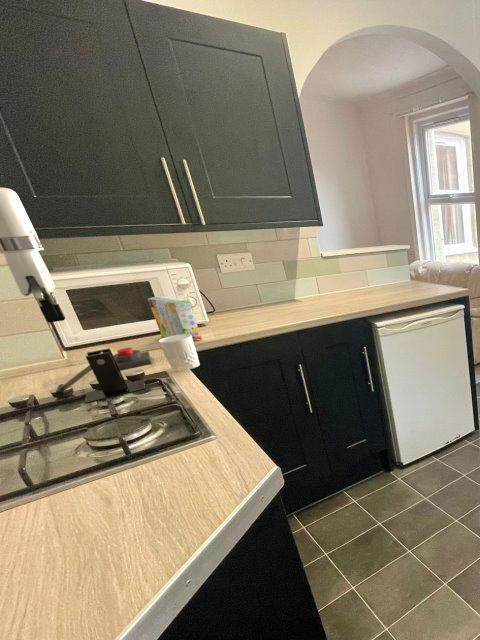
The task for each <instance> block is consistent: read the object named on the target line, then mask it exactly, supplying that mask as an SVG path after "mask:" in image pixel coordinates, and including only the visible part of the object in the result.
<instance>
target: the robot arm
mask: <svg viewBox="0 0 480 640" xmlns="http://www.w3.org/2000/svg"><path fill="white" fill-rule="evenodd" d="M44 250H45V249H44V247H43V244H42V243H41V240H40V238H39V236H38V234H37V232H36V230H35V228H34V226H33V223H32V222H31V220H30V218H29V215H28V213H27V212H26V209H25V207H24V205H23V203H22V201H21V199H20V197H19V195H18V193H16V191H14V190H13V189H11V188H8V187H0V254H1V255H2V254H3V255H4V259H5V261H6V263H7V266H8V268H9V270H10V272H11V274H12V277H13V279H14V281H15V283H16V285H17V288H18V290H19V292H20V294H21V295H22V296H24V297H29V296H30V295H32V296H33V297H34V299H35V301H36V302H37V304H38V306H39V309H40V311H41V313H42V315H43V317H44V319H45V320H46V323H49V324H50V323H56V322H62V321H65V320H66V316H65V314H64V312H63V309H62V308H61V306H60V304H59V303H58V301H57V299H56V296H55V294H54V292H53V291H54V290H56V285H55V283H54V280H53V278H52V275H51V273H50V271H49V269H48V267H47V265H46V263H45V261H44V259H43V258H42V256H41V253H40V252H39V251H44Z"/></svg>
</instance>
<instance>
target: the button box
mask: <svg viewBox="0 0 480 640" xmlns="http://www.w3.org/2000/svg"><path fill="white" fill-rule="evenodd" d="M133 352H134V353H133V354H130V355H125V356H119V354H118V353H116V354H113V356H114V358H115V361H116V363H117V365H118V367H119V369H120V371H121V372H122V371H127V370H132V369H136V368H140V367H146V366H149V365H153V362H152V356H151V354H150V352H149V351H143V352H141V351H140V350H139V349H138V350H137V349H133Z"/></svg>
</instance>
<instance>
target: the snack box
mask: <svg viewBox="0 0 480 640" xmlns="http://www.w3.org/2000/svg"><path fill="white" fill-rule="evenodd" d="M147 301H148V304H149V307H150V309H151V312H152V315H153V317H154V320H155V322H156V325H157V327H158V330H159V333H160V336H161V337H162V338H166V337H169V336H174V335H180V334H190V335H191V336H192V339H193V342H194V343H195V342H197V341H202V339H203V338H202V335H201V332H200V329H199V325H198V323H197V319H196V317H195V314H194V310H193V308H192V305H191V302H190V300H189V299H187V298H186V299H185V298H178V297H172V296H164V295H159V296H153V297H149V298H147ZM197 339H200V340H197ZM194 340H196V341H194Z"/></svg>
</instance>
